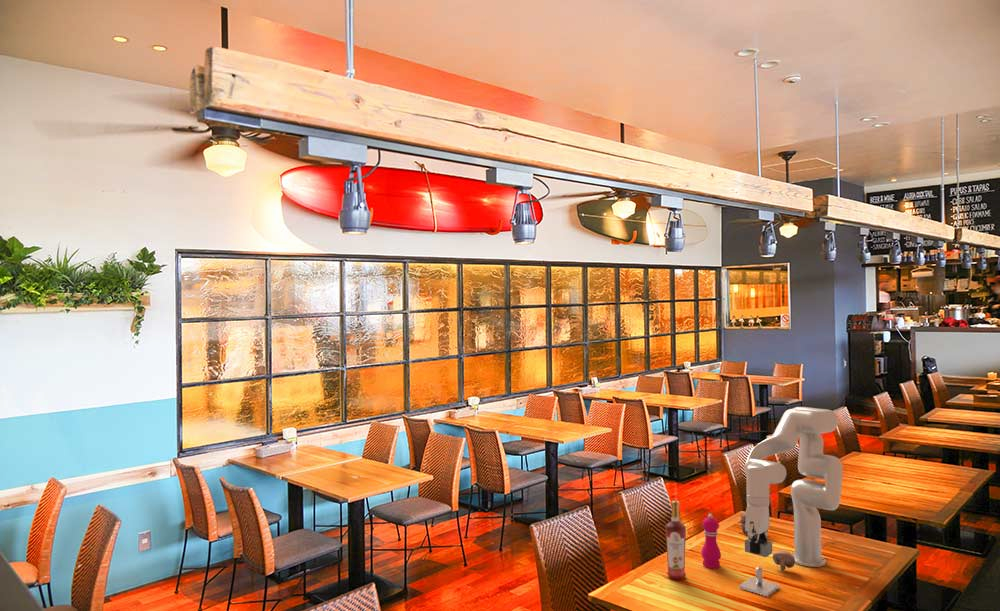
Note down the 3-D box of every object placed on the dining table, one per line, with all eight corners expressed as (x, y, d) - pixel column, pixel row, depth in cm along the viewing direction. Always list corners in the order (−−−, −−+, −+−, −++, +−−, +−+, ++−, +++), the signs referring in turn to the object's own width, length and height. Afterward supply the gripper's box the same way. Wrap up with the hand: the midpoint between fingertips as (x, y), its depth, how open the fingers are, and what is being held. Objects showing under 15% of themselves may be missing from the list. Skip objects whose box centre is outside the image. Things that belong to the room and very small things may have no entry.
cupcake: (743, 537, 278) (743, 514, 278) (738, 529, 288) (738, 507, 288) (766, 538, 277) (766, 514, 277) (761, 530, 286) (760, 508, 286)
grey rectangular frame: (744, 551, 228) (744, 540, 228) (751, 547, 232) (751, 536, 232) (765, 557, 223) (765, 545, 223) (772, 553, 227) (772, 541, 227)
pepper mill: (722, 569, 244) (721, 517, 244) (702, 568, 245) (701, 516, 245) (719, 562, 251) (718, 511, 251) (700, 561, 252) (699, 510, 252)
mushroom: (769, 569, 244) (769, 548, 244) (779, 565, 247) (778, 545, 247) (788, 576, 237) (787, 554, 237) (797, 572, 241) (797, 551, 241)
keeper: (751, 580, 234) (751, 560, 235) (779, 588, 227) (779, 567, 227) (739, 588, 228) (739, 568, 228) (767, 597, 220) (767, 576, 220)
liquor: (687, 574, 240) (685, 499, 240) (686, 582, 233) (684, 505, 233) (666, 572, 242) (665, 498, 243) (665, 580, 235) (664, 503, 236)
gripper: (758, 492, 236) (758, 542, 236) (736, 502, 224) (737, 554, 224) (778, 496, 231) (779, 547, 231) (757, 507, 219) (758, 560, 219)
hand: (758, 550), depth 227 cm, fingers closed on grey rectangular frame, 5 cm apart
